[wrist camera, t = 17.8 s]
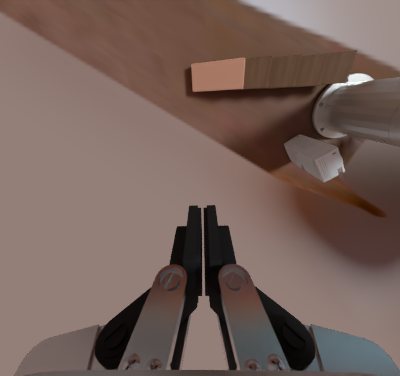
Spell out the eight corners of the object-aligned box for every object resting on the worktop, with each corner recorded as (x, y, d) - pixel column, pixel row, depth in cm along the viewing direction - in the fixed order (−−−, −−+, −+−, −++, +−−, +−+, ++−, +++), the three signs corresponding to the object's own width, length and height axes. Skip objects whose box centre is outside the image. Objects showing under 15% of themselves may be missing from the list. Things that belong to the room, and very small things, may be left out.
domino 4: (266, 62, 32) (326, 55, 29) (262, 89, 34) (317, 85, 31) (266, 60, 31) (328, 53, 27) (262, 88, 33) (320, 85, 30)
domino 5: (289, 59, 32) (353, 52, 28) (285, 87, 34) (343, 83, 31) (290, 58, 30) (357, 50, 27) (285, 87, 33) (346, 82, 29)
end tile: (192, 91, 33) (242, 88, 30) (191, 63, 31) (244, 57, 28) (195, 91, 34) (243, 89, 31) (194, 65, 32) (245, 59, 29)
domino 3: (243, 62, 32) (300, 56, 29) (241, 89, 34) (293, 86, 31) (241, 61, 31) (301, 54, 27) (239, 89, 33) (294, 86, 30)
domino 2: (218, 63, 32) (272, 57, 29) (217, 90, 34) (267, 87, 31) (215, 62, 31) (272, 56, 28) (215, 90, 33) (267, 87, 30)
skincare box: (282, 143, 40) (312, 160, 29) (300, 132, 38) (338, 145, 28) (291, 162, 42) (322, 184, 31) (308, 153, 41) (346, 171, 30)
